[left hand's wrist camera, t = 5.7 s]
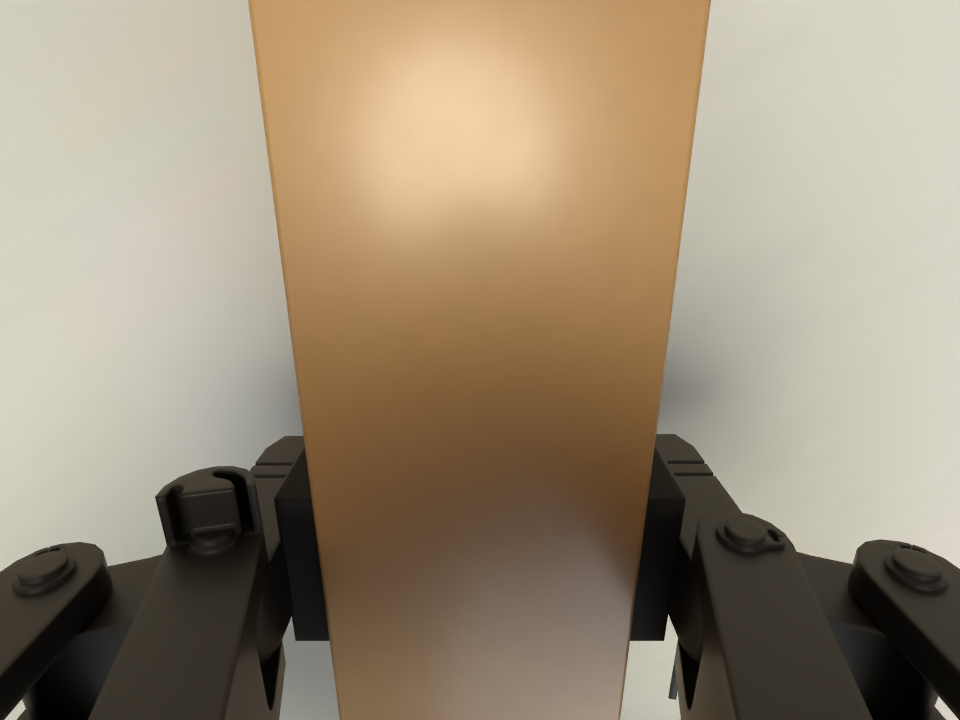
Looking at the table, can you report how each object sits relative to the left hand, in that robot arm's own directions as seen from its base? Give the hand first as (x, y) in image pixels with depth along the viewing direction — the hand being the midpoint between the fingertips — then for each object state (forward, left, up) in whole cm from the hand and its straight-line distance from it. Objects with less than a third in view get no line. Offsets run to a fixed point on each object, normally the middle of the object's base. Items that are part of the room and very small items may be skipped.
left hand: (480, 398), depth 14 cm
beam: (+28, +12, -1) cm, 30 cm away
